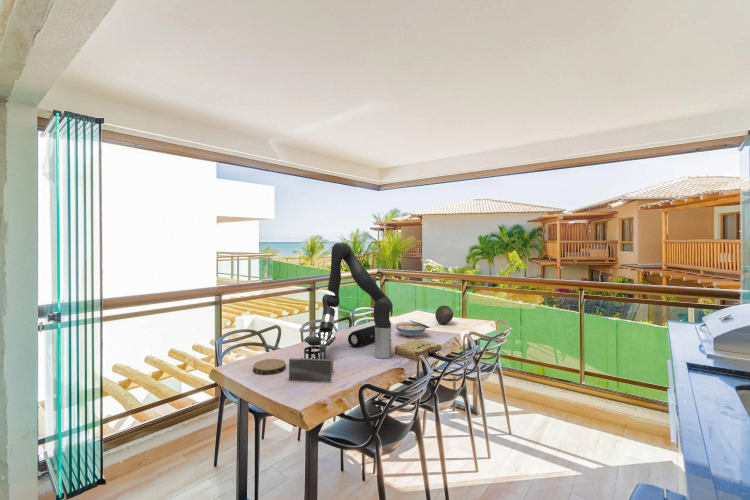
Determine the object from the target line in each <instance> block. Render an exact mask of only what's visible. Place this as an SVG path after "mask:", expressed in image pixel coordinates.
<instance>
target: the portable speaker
mask: <svg viewBox="0 0 750 500" xmlns="http://www.w3.org/2000/svg"><path fill="white" fill-rule="evenodd" d="M347 341H348V344H349V345H350V346H351V347H353V348H354V347H355V348H359V347H362V346H364V345H367V344H370V343H373V342H375V324H374V325H370V326H367V327H364V328H360V329H357V330H353V331H351V332H350V333H349V335H348V336H347Z"/></svg>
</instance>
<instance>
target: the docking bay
mask: <svg viewBox="0 0 750 500" xmlns="http://www.w3.org/2000/svg"><path fill="white" fill-rule="evenodd" d="M288 361H289V362H288V381H299V382H300V381H301V382H302V381H303V382H320V381H331V382H332V374H333V372H334V359H332V358H330V359H325V360H324V359H323V358H322V359H304V357H300V358H295V357H294V358H293V357H292V358H291V357H290V358H289V360H288ZM331 373H332V374H331Z"/></svg>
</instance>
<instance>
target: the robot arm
mask: <svg viewBox="0 0 750 500" xmlns="http://www.w3.org/2000/svg"><path fill="white" fill-rule="evenodd" d="M330 259H331V261H330V273H329V279H328V284H327V290H328V291H329V292H331V293H332V294H323V296H322V303H321V304H322V308H323V309H322V316H321V319H320V324H319V330H318V332H317V334H314V337H320V338H322V341H321V344H320V345H319V347H321V348H322V347H324V348H325V349H326V348H327V346H330V345H331V344H332V343H333V342H335V341H336V339H337V338H336V335H334V334H333V330H334V326H335V325H334V324H335V314H336V311H335V308H338V307H339V306H340V303H341V301H340V286H341V282H342V272H341V265H342V261H344V263H345V264H346V265H347V266H348V269H349V271H350V274H351V277H352V279H353V281H354V283H356V285H357V286H358V287H359V288H360V289H361V290H362V291H363V292H365V293H366V294H368V296H369V297H371V298H372V299H373V301H374V305H373V321H374V325H375V341H374V357H375V358H376V359H377V358H378V359H390V358H391V356H392V322H391V320H390V313H391V312H392V311H393V308H394V307H393V306H394V305H393V303H392V301H391V300H390V298H389V296H387V295H386V294H385V293H384V292H383V291H382V289H380V287H379V285H378V284H377V282H375V280H374V279H373V277H372V276H371V274H370V273H369V272H368V271H367V269H366V268H365V266H364V265H363V264H362V263H361V262H360V260H359V259H358V258H357V257H356V255H355V253H354V252H353V250H352V249H351V247H350V246H349V244H348V243H346V242H337V243H334V244H333V245H332V247H331V258H330ZM322 353H324V349H322Z"/></svg>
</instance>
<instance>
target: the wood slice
mask: <svg viewBox="0 0 750 500" xmlns="http://www.w3.org/2000/svg"><path fill="white" fill-rule="evenodd" d="M286 365H287V363H286V361H285V360H283V359H279V358H269V359H262V360H259V361H257V362H254V363H253V369H252V371H253V373H255V374H256V375H259V376H270V375H272V376H273V375H277V374H280V373H282V372H284V371H285V370H286V368H287V367H286Z"/></svg>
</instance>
